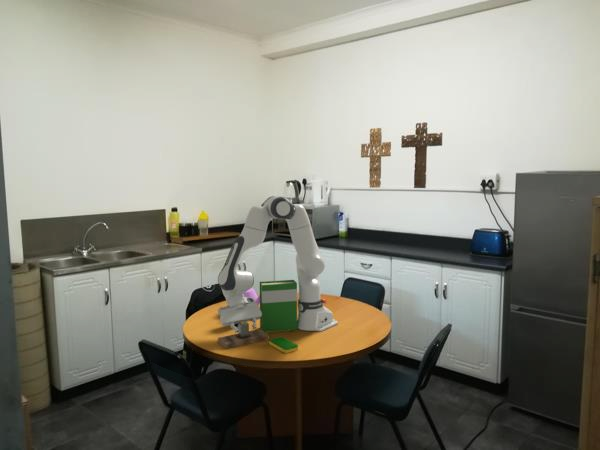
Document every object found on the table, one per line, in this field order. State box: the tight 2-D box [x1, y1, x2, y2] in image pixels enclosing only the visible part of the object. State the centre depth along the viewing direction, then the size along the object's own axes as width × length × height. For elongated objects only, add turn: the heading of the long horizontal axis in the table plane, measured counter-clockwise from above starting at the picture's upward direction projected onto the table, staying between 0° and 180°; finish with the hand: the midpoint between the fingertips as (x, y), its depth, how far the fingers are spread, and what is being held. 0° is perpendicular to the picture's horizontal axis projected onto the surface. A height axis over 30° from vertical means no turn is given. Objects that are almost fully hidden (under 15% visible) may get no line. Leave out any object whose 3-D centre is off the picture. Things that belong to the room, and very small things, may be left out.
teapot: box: [243, 287, 260, 306], centre depth 258 cm, size 20×20×15 cm
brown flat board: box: [217, 328, 270, 350], centre depth 217 cm, size 22×9×2 cm, turn 123°
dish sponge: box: [268, 336, 299, 354], centre depth 210 cm, size 7×14×2 cm, turn 37°
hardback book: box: [259, 279, 298, 333], centre depth 232 cm, size 18×7×24 cm, turn 103°
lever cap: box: [237, 320, 250, 339], centre depth 217 cm, size 4×3×8 cm
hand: (246, 330), depth 216 cm, fingers open, 8 cm apart
